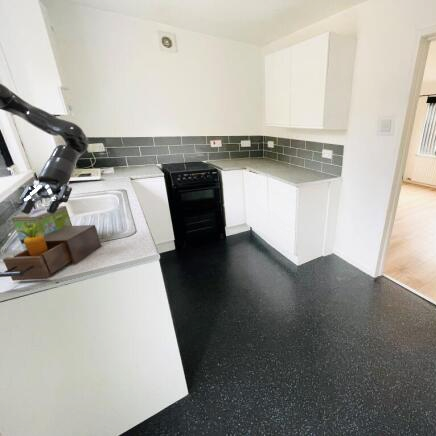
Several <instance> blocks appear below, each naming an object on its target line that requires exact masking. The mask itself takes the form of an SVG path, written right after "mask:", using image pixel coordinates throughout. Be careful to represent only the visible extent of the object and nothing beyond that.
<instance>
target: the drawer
mask: <svg viewBox="0 0 436 436" xmlns="http://www.w3.org/2000/svg"><path fill="white" fill-rule="evenodd" d="M46 245H47V249H48V251H46V252H44V253H43V254H41V256H31V255H30V254H29V252H28V250H27V249H26V250H24V249H23V250H22V251H20V252H18V253H16V254H14V255H13V256H6V257H4V258H2V261H3V263H4V265H5V268H6V270H4V271H0V278H3V277H4V278H7V277H10V278H11V280H12V282H14V281H34V280H35V281H36V280H48V279H49V278H51V275H52V274H53V273H55V272H57V271H58V270H59V269H61V268H62V267H64V266H65V265H68V264H67V263H69V262H70V261H72V260H71V257H70V254H69V251H68V249H67V246H66V243H65V242H59V243H46Z"/></svg>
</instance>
